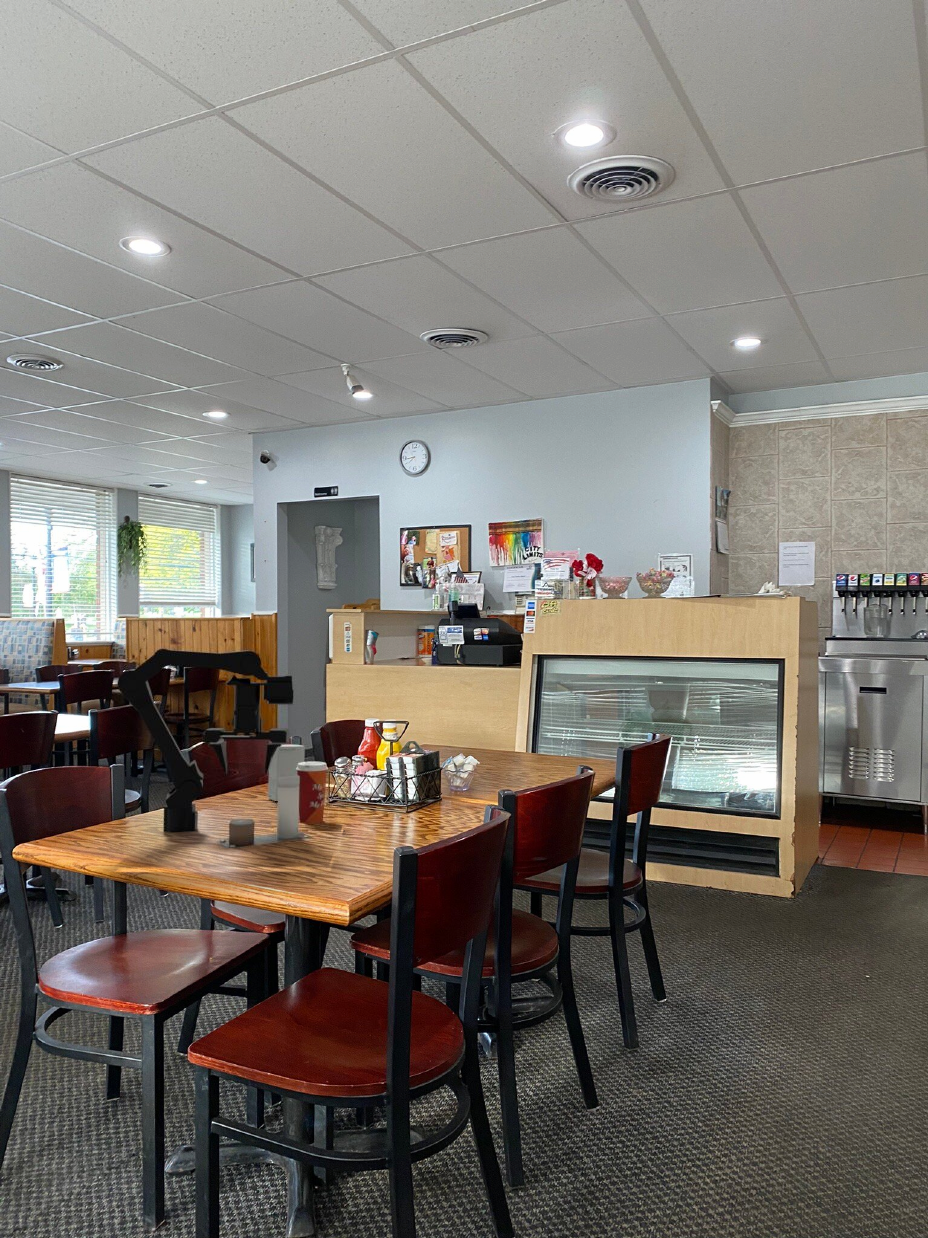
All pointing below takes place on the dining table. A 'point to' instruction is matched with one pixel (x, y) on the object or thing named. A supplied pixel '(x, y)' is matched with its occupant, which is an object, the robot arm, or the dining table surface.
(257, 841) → the plate
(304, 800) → the paper cup
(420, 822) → the dining table surface
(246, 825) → the grey short cylinder
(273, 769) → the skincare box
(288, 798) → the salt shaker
